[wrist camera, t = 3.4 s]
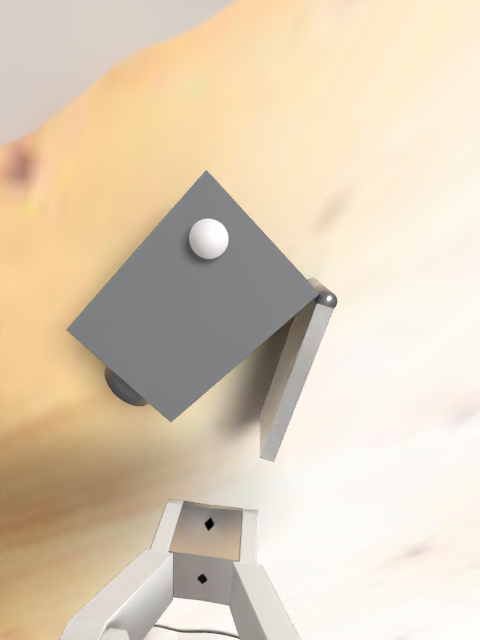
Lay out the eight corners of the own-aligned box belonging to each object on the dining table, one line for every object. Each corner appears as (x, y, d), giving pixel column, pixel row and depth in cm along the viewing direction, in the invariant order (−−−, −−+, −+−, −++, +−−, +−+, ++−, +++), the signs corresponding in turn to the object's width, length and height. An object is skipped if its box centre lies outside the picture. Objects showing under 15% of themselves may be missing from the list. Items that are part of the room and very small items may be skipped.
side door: (275, 417, 20) (279, 463, 16) (259, 412, 20) (259, 457, 16) (326, 282, 17) (345, 297, 13) (307, 276, 17) (321, 289, 13)
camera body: (177, 394, 20) (149, 447, 15) (98, 323, 19) (40, 354, 14) (305, 279, 17) (323, 297, 12) (221, 187, 16) (203, 166, 11)
